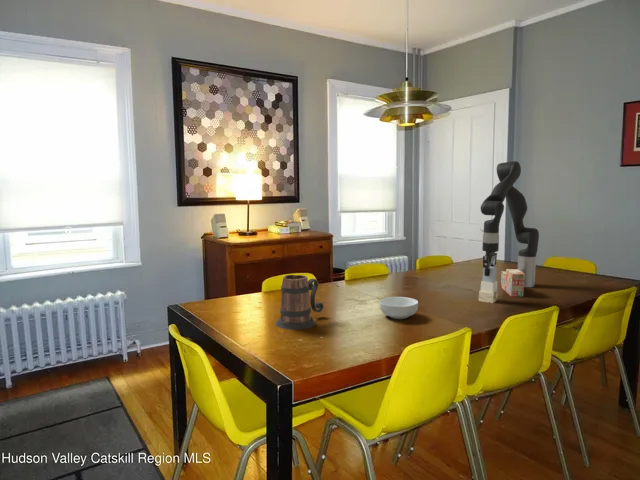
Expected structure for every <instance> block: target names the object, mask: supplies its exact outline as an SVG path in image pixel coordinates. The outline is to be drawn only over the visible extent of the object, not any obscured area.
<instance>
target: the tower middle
mask: <svg viewBox="0 0 640 480" xmlns="http://www.w3.org/2000/svg"><path fill="white" fill-rule="evenodd" d="M480 291H483V292H489V293H494V292H496V291H498V280H496V281H495V282H493V283H491V282H484V281H482V280H481V281H480Z"/></svg>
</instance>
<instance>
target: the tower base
mask: <svg viewBox="0 0 640 480" xmlns="http://www.w3.org/2000/svg"><path fill="white" fill-rule="evenodd" d="M498 294H499V291H498V290H497V291H496V292H494V293H489V292H483V291H481V290H479V291H478V302H483V303H489V302H490V304H494V303H495V302H497V301H498V300H499V299H498V296H499V295H498Z"/></svg>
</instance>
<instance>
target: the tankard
mask: <svg viewBox="0 0 640 480" xmlns="http://www.w3.org/2000/svg"><path fill="white" fill-rule="evenodd" d="M318 288H319V281H318V279H316V278H310V279H308V276H306V275H304V274H303V275H302V274H287V275H284V276H283V277H282V282H281V286H280V291H281V298H280V299H281V300H280V302H281V303H280V311H279V314H280V317H279V318H278V319H277V321H276V322H275V326H276V327H278V328H280V329H283V330H291V331H293V330H294V331H295V330H305V329H310V328H312V327H314V326H315V325H316V321H315V320H314V319H313V317H312V316H311V313H312V311H313V312H315V313H321V312H322V311H323V309H324V304H323V302H320V301H316V293H317V291H318ZM310 291H311V292H310ZM311 310H312V311H311Z"/></svg>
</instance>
